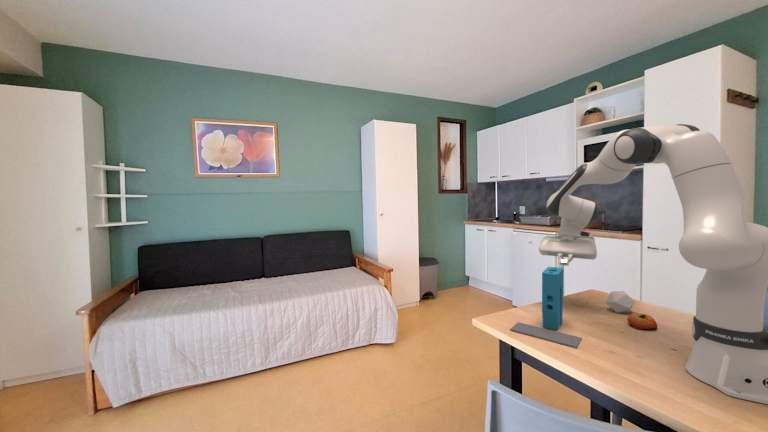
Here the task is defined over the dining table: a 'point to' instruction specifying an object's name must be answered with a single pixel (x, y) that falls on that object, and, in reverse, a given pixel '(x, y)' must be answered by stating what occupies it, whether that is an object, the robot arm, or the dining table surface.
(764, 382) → the robot arm
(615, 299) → the die
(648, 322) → the tomato
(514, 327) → the mat
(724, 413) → the dining table surface
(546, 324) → the block
